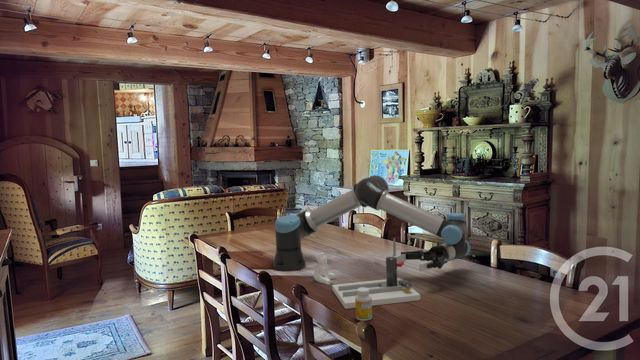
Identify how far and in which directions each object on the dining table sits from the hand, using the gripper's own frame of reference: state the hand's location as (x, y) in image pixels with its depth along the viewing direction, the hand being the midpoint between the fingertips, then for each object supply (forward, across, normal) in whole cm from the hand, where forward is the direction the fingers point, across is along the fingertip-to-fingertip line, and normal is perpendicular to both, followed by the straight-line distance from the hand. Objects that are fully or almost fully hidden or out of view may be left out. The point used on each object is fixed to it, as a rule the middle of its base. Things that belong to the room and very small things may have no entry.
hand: (406, 263), depth 171 cm
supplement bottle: (+31, -10, -10) cm, 34 cm away
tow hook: (-21, +27, -10) cm, 35 cm away
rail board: (+14, +3, -10) cm, 18 cm away
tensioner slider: (+8, -3, -8) cm, 11 cm away
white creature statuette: (+19, +30, -10) cm, 36 cm away
